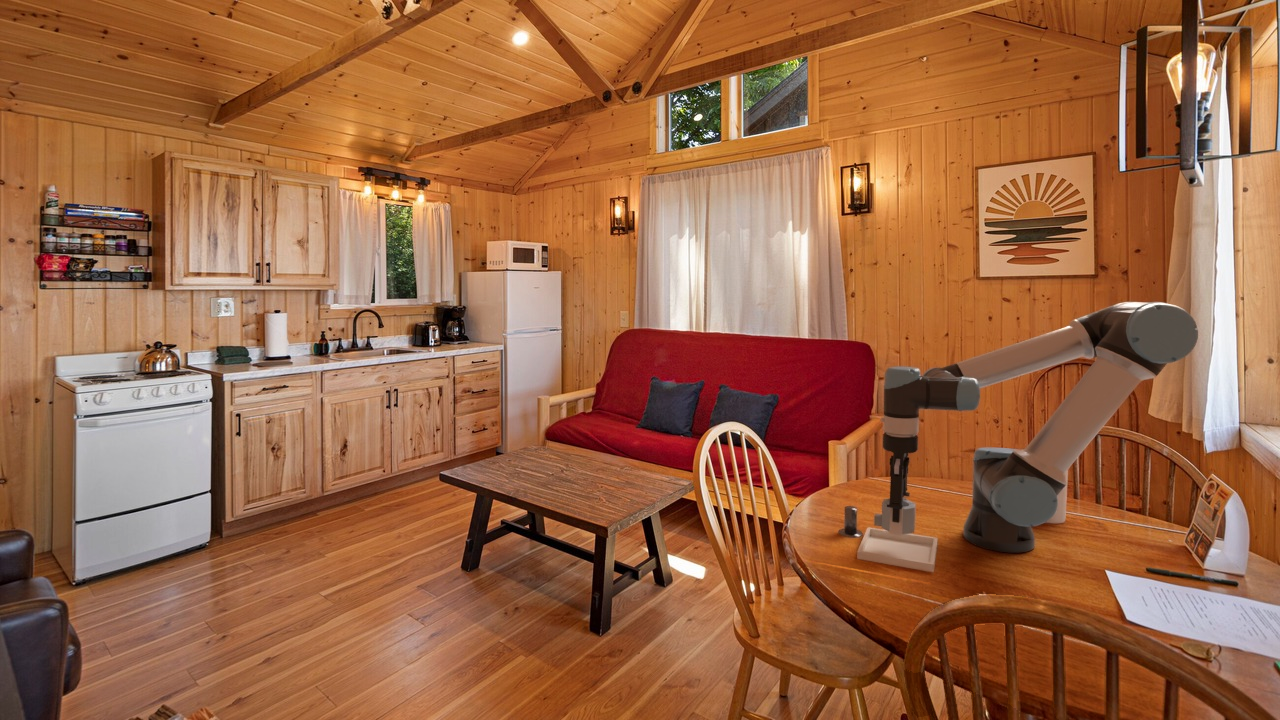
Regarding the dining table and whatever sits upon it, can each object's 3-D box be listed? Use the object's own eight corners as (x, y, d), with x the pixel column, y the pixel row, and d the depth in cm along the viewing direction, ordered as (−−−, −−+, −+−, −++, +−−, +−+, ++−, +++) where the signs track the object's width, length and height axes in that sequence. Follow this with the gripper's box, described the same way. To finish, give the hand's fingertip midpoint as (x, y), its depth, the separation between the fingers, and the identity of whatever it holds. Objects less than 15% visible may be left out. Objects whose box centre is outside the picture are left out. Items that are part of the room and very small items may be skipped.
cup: (1071, 524, 158) (1074, 464, 156) (1036, 522, 159) (1039, 463, 158) (1056, 512, 166) (1059, 456, 164) (1023, 511, 167) (1025, 455, 166)
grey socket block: (915, 525, 144) (916, 500, 144) (913, 535, 138) (913, 510, 138) (876, 519, 148) (877, 495, 148) (872, 529, 142) (873, 504, 142)
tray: (937, 546, 147) (937, 537, 147) (933, 574, 133) (933, 564, 133) (867, 535, 154) (867, 527, 154) (857, 560, 140) (857, 551, 140)
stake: (864, 532, 157) (865, 505, 156) (860, 540, 151) (861, 513, 151) (840, 528, 160) (840, 502, 159) (836, 536, 154) (836, 510, 154)
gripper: (888, 423, 151) (885, 512, 153) (877, 441, 134) (874, 541, 136) (921, 426, 147) (918, 516, 150) (914, 445, 130) (911, 547, 133)
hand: (897, 528), depth 143 cm, fingers closed on grey socket block, 7 cm apart
